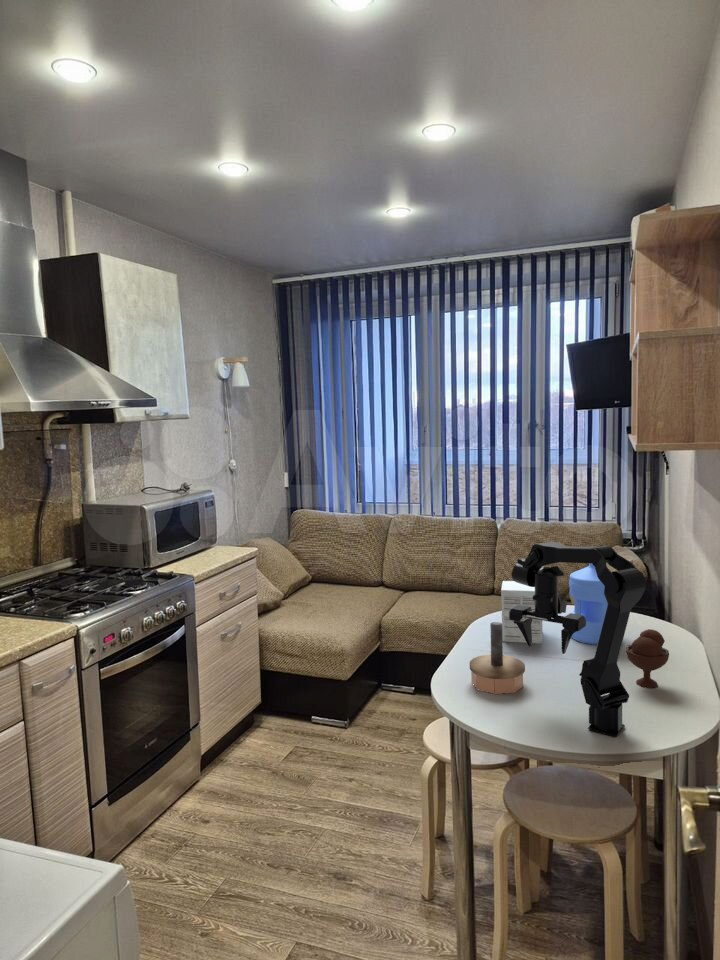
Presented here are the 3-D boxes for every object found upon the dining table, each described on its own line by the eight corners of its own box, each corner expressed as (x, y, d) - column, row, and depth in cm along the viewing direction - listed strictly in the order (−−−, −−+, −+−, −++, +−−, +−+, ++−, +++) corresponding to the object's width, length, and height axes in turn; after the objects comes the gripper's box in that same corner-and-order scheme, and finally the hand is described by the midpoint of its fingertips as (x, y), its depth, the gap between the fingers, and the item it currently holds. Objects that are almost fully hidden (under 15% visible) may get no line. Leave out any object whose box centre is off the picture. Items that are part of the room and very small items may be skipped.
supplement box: (503, 629, 227) (502, 580, 225) (542, 631, 223) (541, 581, 222) (501, 642, 214) (500, 589, 212) (542, 644, 210) (542, 591, 209)
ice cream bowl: (631, 673, 184) (631, 621, 182) (674, 682, 177) (674, 628, 175) (619, 685, 176) (619, 631, 174) (663, 695, 168) (663, 639, 167)
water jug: (598, 627, 225) (597, 548, 223) (630, 641, 210) (630, 556, 208) (559, 633, 220) (559, 552, 218) (590, 648, 205) (589, 561, 203)
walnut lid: (520, 658, 186) (519, 615, 185) (529, 679, 171) (528, 632, 170) (467, 658, 187) (466, 615, 186) (471, 678, 172) (471, 632, 171)
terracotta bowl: (529, 681, 180) (529, 666, 180) (507, 697, 170) (507, 681, 170) (487, 671, 188) (487, 656, 188) (464, 686, 178) (464, 670, 178)
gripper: (593, 589, 167) (593, 648, 168) (526, 579, 179) (526, 635, 180) (577, 598, 158) (577, 660, 160) (507, 588, 170) (508, 646, 172)
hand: (546, 649), depth 168 cm, fingers open, 9 cm apart
